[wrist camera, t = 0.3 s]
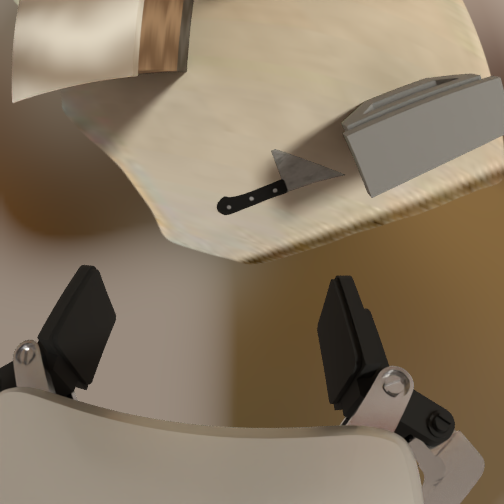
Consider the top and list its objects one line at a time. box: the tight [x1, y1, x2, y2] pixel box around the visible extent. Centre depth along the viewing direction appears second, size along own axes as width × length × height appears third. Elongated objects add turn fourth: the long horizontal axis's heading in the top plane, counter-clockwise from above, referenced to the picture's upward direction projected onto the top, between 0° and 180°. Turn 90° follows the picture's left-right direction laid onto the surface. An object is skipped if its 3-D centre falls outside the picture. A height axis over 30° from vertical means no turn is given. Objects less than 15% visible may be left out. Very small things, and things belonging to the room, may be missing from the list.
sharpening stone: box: [341, 74, 504, 198], centre depth 28 cm, size 25×8×11 cm, turn 120°
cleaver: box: [217, 149, 344, 215], centre depth 38 cm, size 29×1×10 cm
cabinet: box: [12, 0, 193, 103], centre depth 17 cm, size 18×14×19 cm
